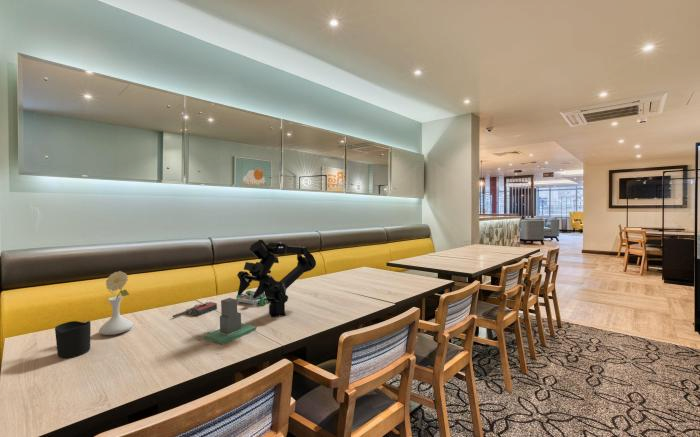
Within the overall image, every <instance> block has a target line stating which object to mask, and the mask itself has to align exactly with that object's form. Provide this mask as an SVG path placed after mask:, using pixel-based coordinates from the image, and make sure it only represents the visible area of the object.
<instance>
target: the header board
mask: <svg viewBox="0 0 700 437" xmlns="http://www.w3.org/2000/svg"><path fill="white" fill-rule="evenodd" d="M256 330H257V326H255V325H250V324H247V323H246V324H245V323H243V322H241V329H240V330H238V331H235V332H233V333H231V334H228V335H227V334H223V333H220V328H219V329H217V330H213V331H211V332H209V333H206V334H204V335H203V339H205V340H209V341H211V342H215V343H217V344H220V345H225V344H227V343H229V342H230V343H231V342H232V341H234V340H236V339H238V338H241V337H244V336H245V335H248V334H250V333H253V332H254V331H256Z"/></svg>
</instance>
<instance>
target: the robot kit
mask: <svg viewBox="0 0 700 437" xmlns="http://www.w3.org/2000/svg"><path fill="white" fill-rule="evenodd" d="M255 292H256V290H253V291H252V290H249V289H248V290H245V293H242V294H240V295H238V294H236V297H235V299H237V303H238V302H240V303H244V304H245V303H246V304H250V305H251V304H252V305H257V304H259V305H260V306H262V307H263V306H266V305H268V304H267V303H270V301H267V298H266V296H265V292H264V293H262V294H261V295H259V296H258V297H256V298H255V299H254V298H253V296H254V293H255Z"/></svg>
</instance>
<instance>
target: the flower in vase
mask: <svg viewBox="0 0 700 437" xmlns="http://www.w3.org/2000/svg"><path fill="white" fill-rule="evenodd" d="M105 280H106V282H105V285H106V289H108V292H109V293H111V294H114V295H116V296H112V297H109V298H107V301H109V303H110V304H111V305H110V306H111V308H112V316H111V317H110V318H109V320H107V321H106V322H105V323H103V324H102V326H101V327H99V330H98V332H99V333H100V334H101V335H106V336H111V335H112V336H113V335H119V334H122V333H125V332H127V331H129V330H131V329H133V328H134V323H133V322H132V321H131V320H129V319H127V318H125V317H123V316H122V315H121V313H120V305H121V302H122V300H123V298H124V297H125V296H129V295H130V293H129V292H128V290H127V289H123V290H122V288H124V287H125V285H126V284H127V282H128V281H129V279H128V274H127V273H125V272H123V271H121V270H118V271H115V272H113V273H111V274H110V275H109V276H108V277H107V279H105ZM118 290H120V291H119V292H118V293H117V292H116V291H118Z"/></svg>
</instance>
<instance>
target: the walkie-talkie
mask: <svg viewBox="0 0 700 437" xmlns="http://www.w3.org/2000/svg"><path fill="white" fill-rule="evenodd" d="M217 309H218V303H217V302H213V301H206V302H205V303H204V302H200V303H197V304H195V305H194V306H192V307H189V308H186V310H184V311H182V312H179V313H176V314H173V315H171V316H172V318H176V317H179V316H182V315H184V314H188V315H193V316H202V315H205V314H208V313H210V312H212V311H216V310H217Z"/></svg>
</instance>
